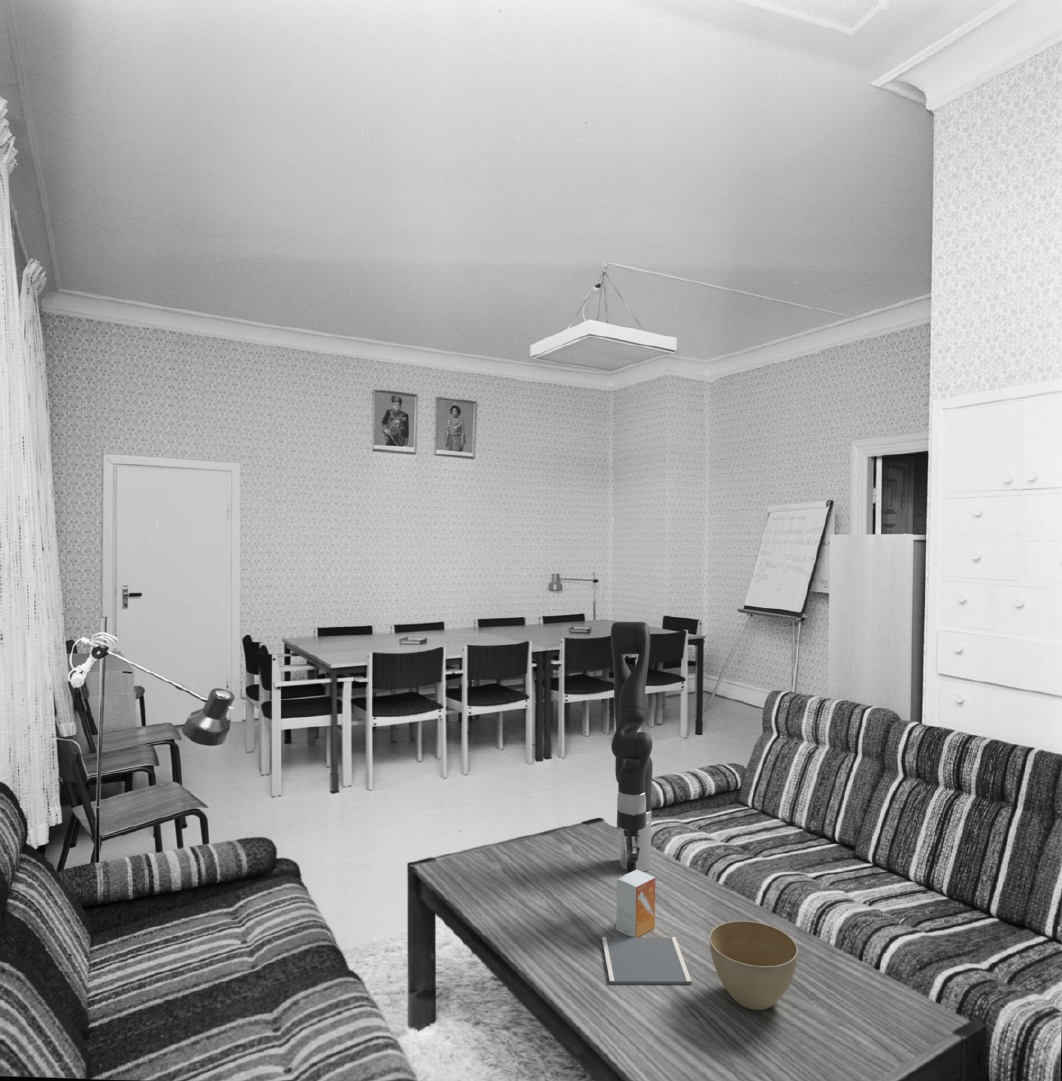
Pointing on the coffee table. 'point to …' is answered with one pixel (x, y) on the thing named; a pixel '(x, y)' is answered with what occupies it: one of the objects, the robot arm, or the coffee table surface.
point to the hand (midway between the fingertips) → (631, 873)
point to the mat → (644, 961)
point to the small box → (635, 903)
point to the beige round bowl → (753, 962)
